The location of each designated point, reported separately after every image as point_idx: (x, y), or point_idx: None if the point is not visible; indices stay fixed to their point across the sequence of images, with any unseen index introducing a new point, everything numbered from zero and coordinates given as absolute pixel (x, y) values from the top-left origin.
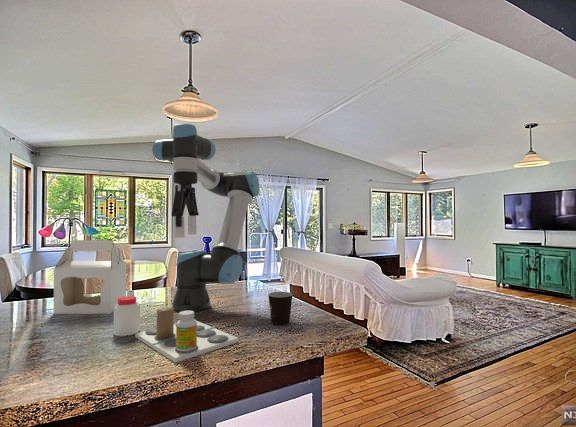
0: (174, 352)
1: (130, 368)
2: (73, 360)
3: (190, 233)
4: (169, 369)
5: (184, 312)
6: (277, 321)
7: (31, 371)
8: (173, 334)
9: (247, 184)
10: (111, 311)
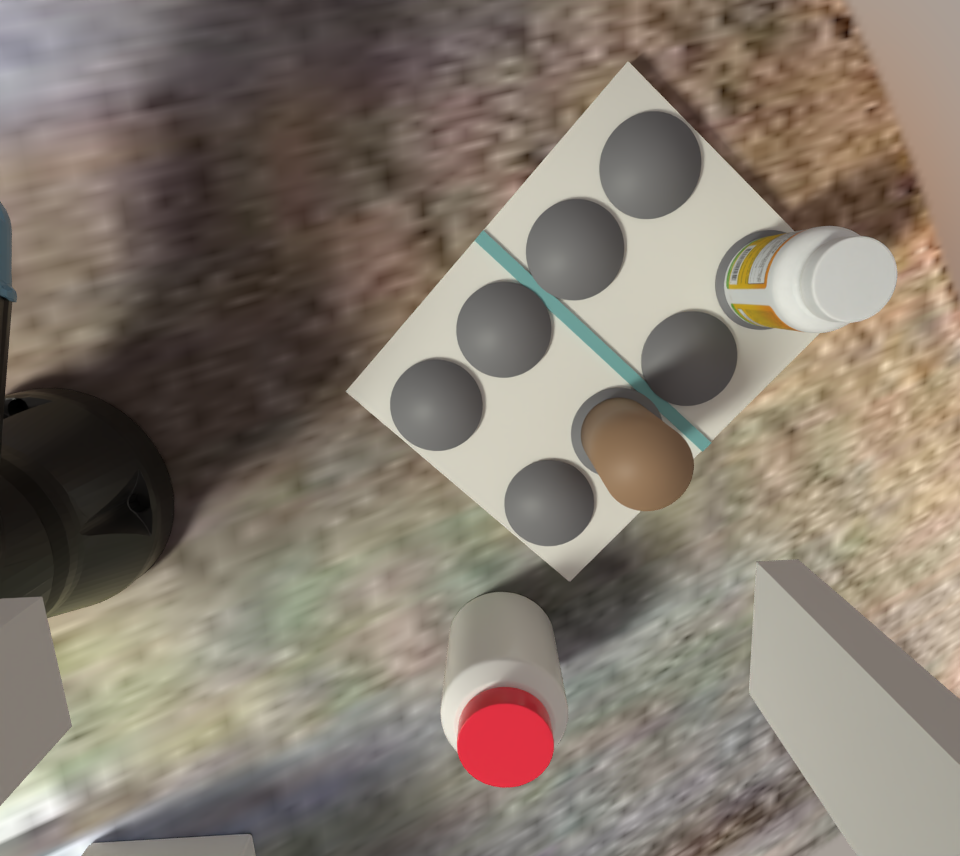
0: None
1: (881, 444)
2: None
3: (51, 699)
4: (903, 295)
5: (853, 293)
6: None
7: None
8: (610, 399)
9: None
10: (242, 840)
